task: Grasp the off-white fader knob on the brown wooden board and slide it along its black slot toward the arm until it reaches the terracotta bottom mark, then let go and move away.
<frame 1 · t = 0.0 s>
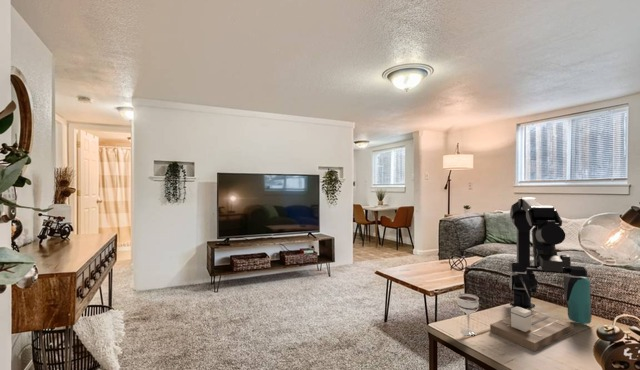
hand: (548, 299, 94), 15 cm above the table, tool pointing down, fingers open, 9 cm apart
fader knob: (521, 318, 103), point 6 cm above the table, slide at 14.0 cm
beverage bottle: (579, 324, 110), on the table
brown wooden board: (531, 331, 106), on the table
wineglass: (468, 333, 107), on the table
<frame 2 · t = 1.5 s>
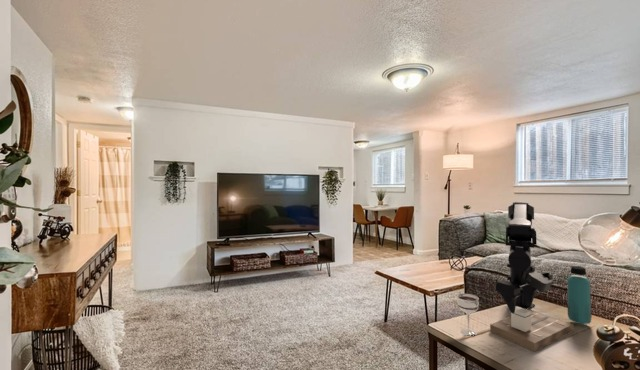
hand: (520, 309, 103), 9 cm above the table, tool pointing down, fingers open, 9 cm apart
nothing on the table moved.
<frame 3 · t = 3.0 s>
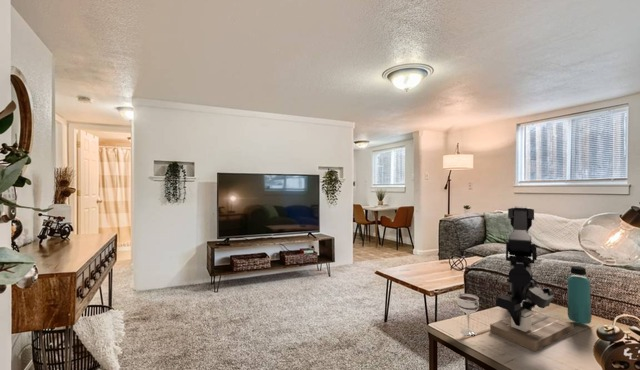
hand: (521, 324, 103), 4 cm above the table, tool pointing down, fingers closed on fader knob, 3 cm apart
fader knob: (521, 318, 103), point 6 cm above the table, slide at 14.0 cm, touching gripper
everything else where it was.
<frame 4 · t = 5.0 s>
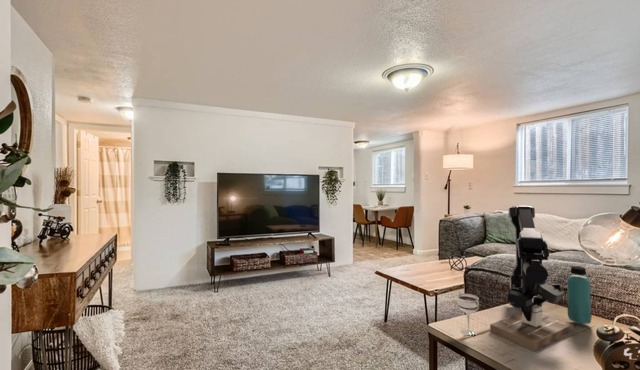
hand: (531, 319, 106), 4 cm above the table, tool pointing down, fingers closed on fader knob, 3 cm apart
fader knob: (531, 314, 106), point 6 cm above the table, slide at 7.7 cm, touching gripper
everything else where it was.
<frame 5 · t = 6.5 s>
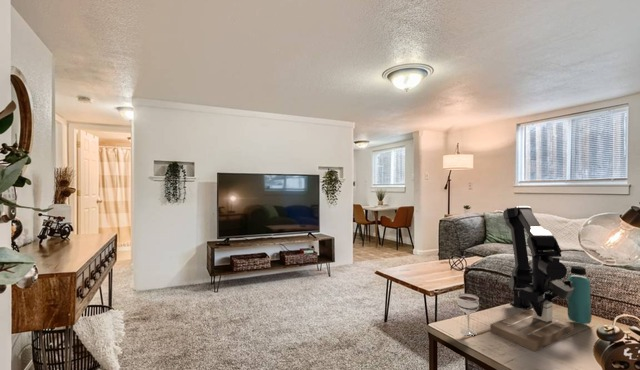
hand: (542, 315, 109), 4 cm above the table, tool pointing down, fingers closed on fader knob, 3 cm apart
fader knob: (542, 309, 109), point 6 cm above the table, slide at 1.2 cm, touching gripper
everything else where it was.
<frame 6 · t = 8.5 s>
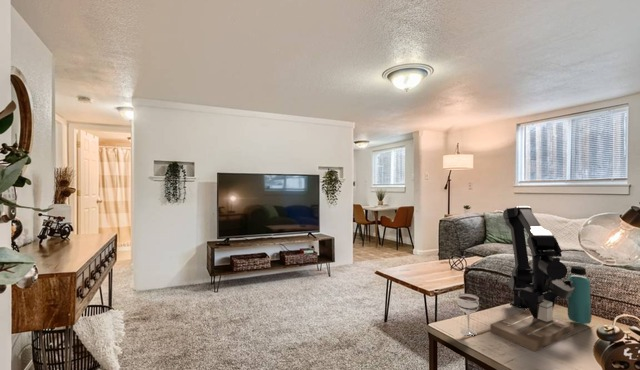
hand: (542, 314, 109), 4 cm above the table, tool pointing down, fingers open, 9 cm apart
fader knob: (542, 309, 109), point 6 cm above the table, slide at 1.0 cm
everything else where it was.
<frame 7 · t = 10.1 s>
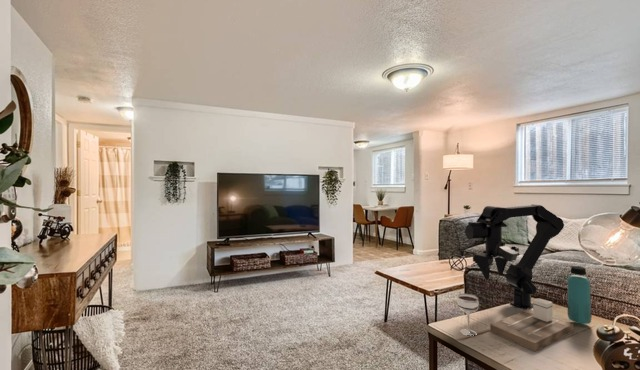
hand: (494, 277, 125), 12 cm above the table, tool pointing down, fingers open, 9 cm apart
nothing on the table moved.
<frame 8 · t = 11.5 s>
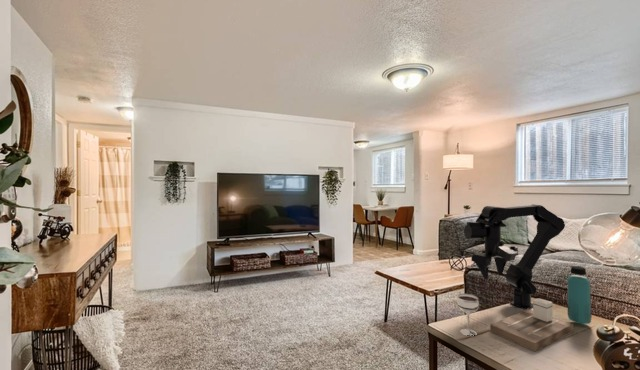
hand: (493, 277, 126), 12 cm above the table, tool pointing down, fingers open, 9 cm apart
nothing on the table moved.
at the end: fader knob slide at 1.0 cm; beverage bottle moved 0.2 cm from its start; wineglass moved 0.2 cm from its start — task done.
